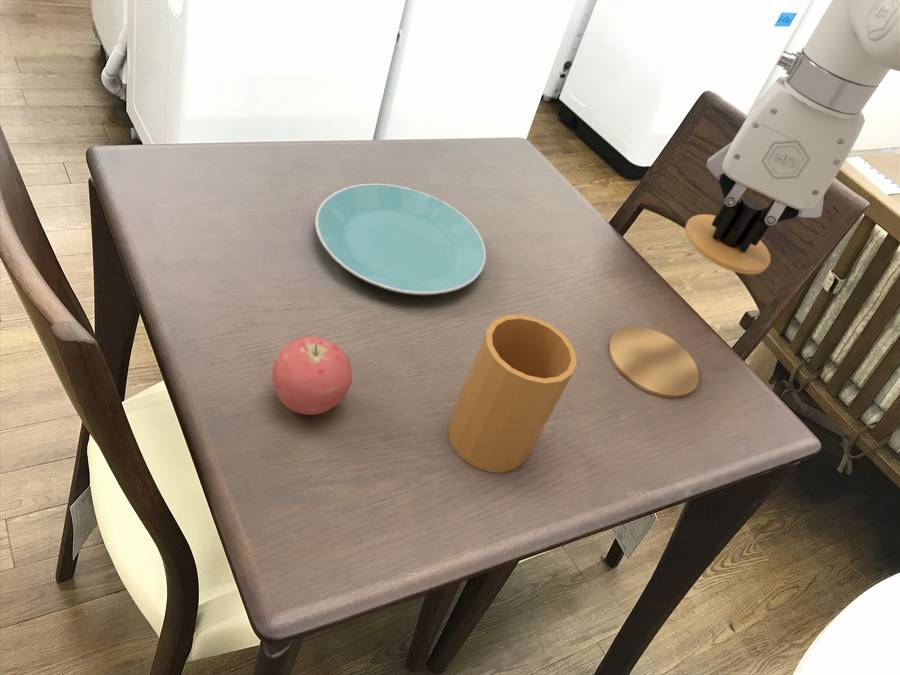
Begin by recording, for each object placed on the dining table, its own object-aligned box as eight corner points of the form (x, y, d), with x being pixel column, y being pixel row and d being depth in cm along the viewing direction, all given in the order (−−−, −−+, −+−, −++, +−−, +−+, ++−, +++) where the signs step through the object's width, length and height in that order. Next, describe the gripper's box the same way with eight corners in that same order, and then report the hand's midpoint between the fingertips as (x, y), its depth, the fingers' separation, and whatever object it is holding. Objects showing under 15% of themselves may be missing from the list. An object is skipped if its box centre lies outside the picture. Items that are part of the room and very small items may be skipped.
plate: (491, 320, 94) (498, 303, 92) (308, 294, 88) (312, 275, 86) (470, 215, 110) (475, 198, 108) (314, 188, 104) (317, 170, 102)
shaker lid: (778, 262, 86) (810, 217, 82) (741, 289, 80) (774, 242, 76) (707, 214, 90) (734, 169, 86) (666, 236, 84) (693, 189, 80)
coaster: (713, 374, 98) (715, 371, 98) (667, 412, 90) (669, 410, 90) (639, 317, 103) (641, 314, 102) (590, 350, 95) (591, 347, 95)
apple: (252, 397, 75) (260, 339, 70) (305, 364, 80) (317, 308, 75) (305, 443, 73) (318, 387, 68) (357, 406, 78) (373, 351, 73)
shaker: (544, 447, 81) (594, 359, 72) (491, 487, 75) (538, 396, 66) (485, 394, 84) (525, 303, 76) (430, 428, 79) (467, 334, 70)
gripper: (744, 60, 70) (655, 222, 82) (913, 134, 68) (796, 289, 80) (752, 40, 76) (668, 194, 88) (909, 107, 74) (800, 256, 86)
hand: (730, 238), depth 84 cm, fingers closed on shaker lid, 2 cm apart
